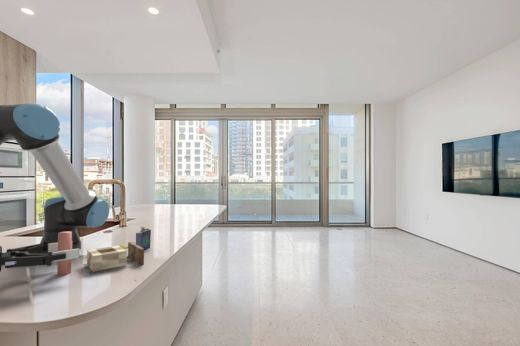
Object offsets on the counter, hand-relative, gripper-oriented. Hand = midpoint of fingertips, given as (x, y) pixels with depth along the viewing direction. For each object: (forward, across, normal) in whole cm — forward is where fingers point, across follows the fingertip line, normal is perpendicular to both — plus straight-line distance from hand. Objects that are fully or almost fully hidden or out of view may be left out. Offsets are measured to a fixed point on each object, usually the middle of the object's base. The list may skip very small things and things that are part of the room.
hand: (75, 248), depth 87 cm
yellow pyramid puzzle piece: (+18, -23, -9) cm, 31 cm away
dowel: (-3, 0, -8) cm, 9 cm away
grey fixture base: (+11, 0, -8) cm, 14 cm away
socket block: (+9, 0, -7) cm, 12 cm away
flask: (+26, -14, -9) cm, 31 cm away
